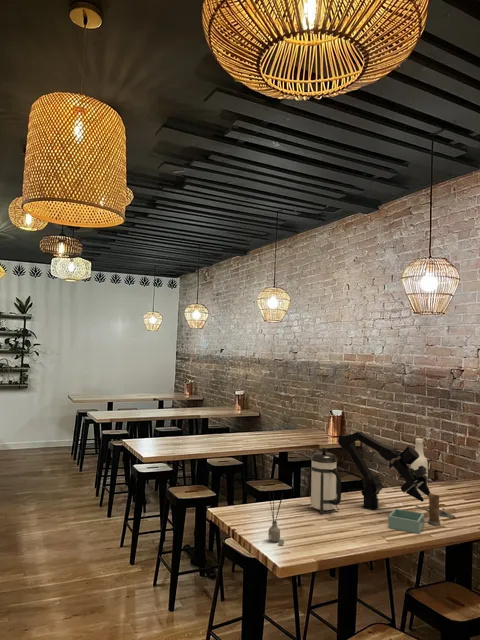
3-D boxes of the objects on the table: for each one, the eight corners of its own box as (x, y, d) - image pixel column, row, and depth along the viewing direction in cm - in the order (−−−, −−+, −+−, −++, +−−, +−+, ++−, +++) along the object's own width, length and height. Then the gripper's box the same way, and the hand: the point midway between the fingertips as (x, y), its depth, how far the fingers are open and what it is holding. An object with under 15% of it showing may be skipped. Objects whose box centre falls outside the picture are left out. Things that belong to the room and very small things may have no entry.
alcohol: (425, 496, 263) (425, 440, 265) (409, 493, 268) (409, 438, 270) (429, 492, 271) (429, 438, 273) (413, 490, 275) (413, 437, 278)
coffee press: (304, 513, 230) (305, 449, 232) (312, 503, 245) (312, 444, 247) (340, 518, 224) (341, 452, 226) (346, 508, 238) (346, 447, 241)
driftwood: (457, 519, 228) (457, 514, 229) (447, 520, 226) (447, 516, 226) (425, 506, 247) (425, 502, 247) (415, 508, 245) (414, 503, 245)
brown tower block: (426, 523, 219) (426, 494, 220) (430, 521, 223) (430, 492, 224) (437, 526, 216) (437, 496, 217) (441, 523, 220) (441, 494, 221)
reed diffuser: (262, 538, 196) (263, 488, 198) (274, 535, 201) (275, 486, 202) (279, 547, 188) (280, 494, 190) (291, 543, 193) (292, 492, 194)
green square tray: (388, 527, 213) (388, 516, 213) (394, 519, 224) (394, 508, 224) (419, 533, 206) (419, 521, 207) (424, 525, 217) (424, 513, 218)
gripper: (407, 463, 221) (431, 492, 212) (423, 457, 234) (447, 485, 226) (391, 477, 225) (414, 507, 217) (408, 471, 239) (430, 498, 231)
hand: (427, 499), depth 222 cm, fingers open, 9 cm apart
